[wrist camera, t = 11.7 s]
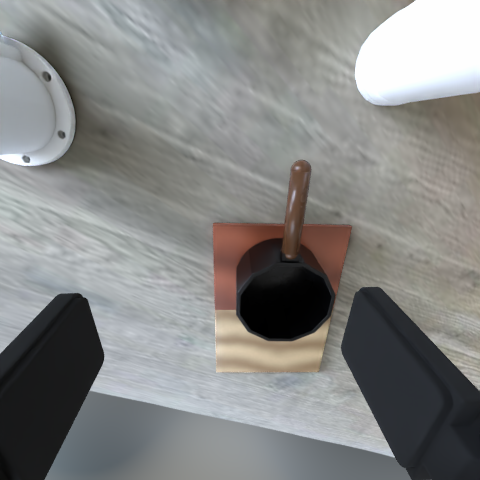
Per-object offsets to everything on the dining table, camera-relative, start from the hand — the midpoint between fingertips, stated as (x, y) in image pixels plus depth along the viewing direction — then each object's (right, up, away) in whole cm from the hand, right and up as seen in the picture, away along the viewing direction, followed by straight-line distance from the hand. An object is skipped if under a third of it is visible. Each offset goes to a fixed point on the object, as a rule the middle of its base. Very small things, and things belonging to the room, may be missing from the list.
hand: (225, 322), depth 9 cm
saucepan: (+6, +3, +25) cm, 26 cm away
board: (+6, -8, +31) cm, 33 cm away
